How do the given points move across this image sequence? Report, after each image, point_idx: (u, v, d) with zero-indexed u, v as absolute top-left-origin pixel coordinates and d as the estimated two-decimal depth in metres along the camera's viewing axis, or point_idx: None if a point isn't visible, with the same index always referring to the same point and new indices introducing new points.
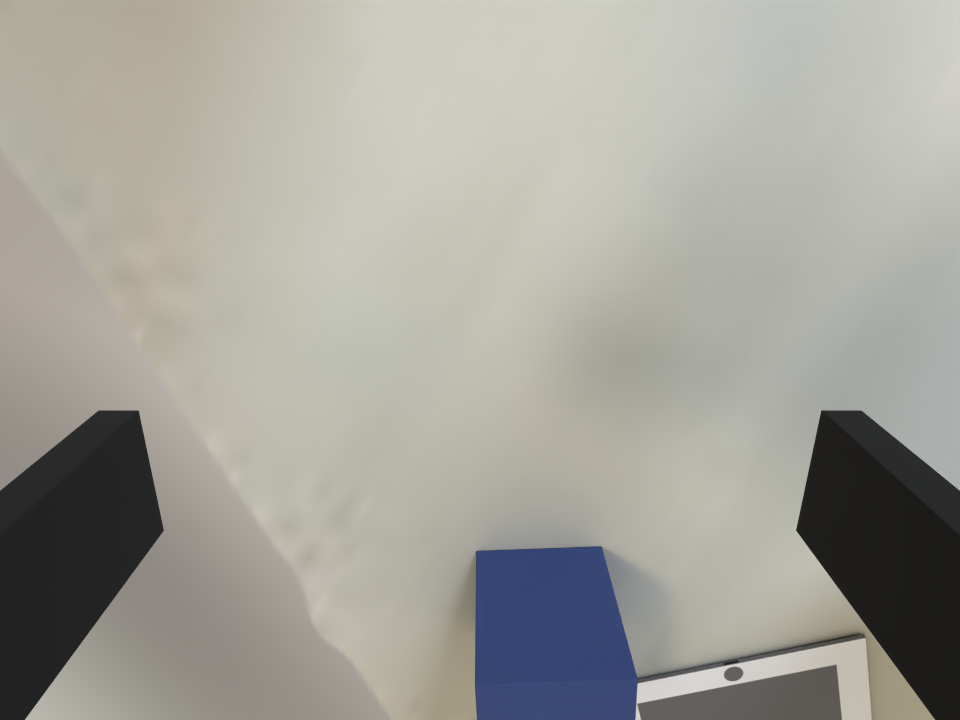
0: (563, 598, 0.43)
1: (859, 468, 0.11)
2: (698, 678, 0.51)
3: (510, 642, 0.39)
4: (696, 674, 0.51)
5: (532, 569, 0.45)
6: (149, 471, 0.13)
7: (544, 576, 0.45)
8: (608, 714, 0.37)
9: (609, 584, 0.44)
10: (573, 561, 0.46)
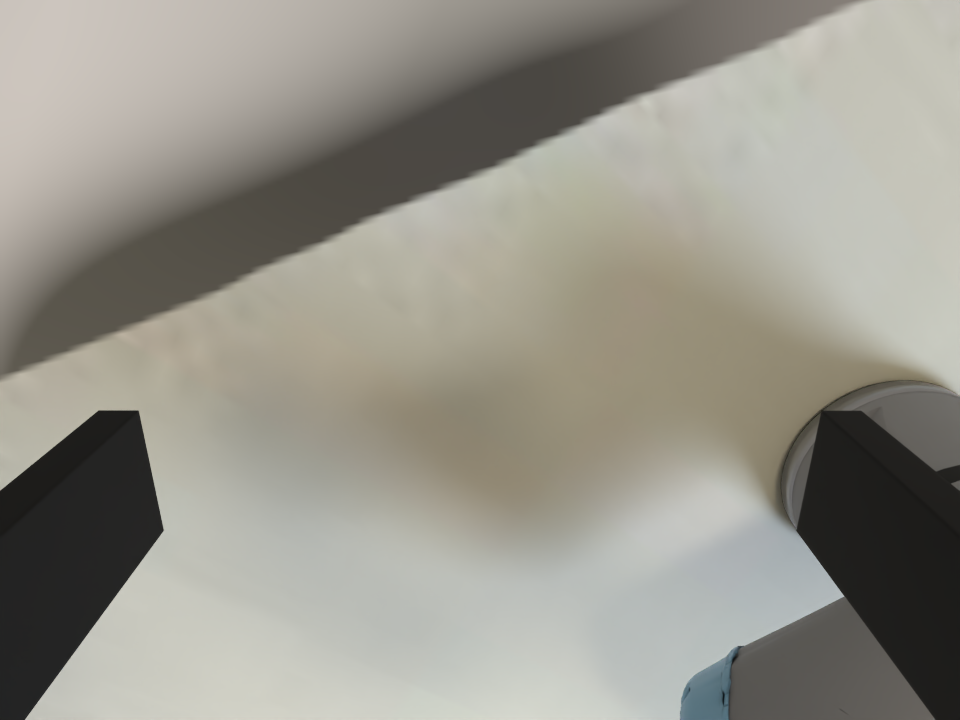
0: None
1: (859, 469, 0.11)
2: None
3: None
4: None
5: None
6: (148, 472, 0.13)
7: None
8: None
9: None
10: None
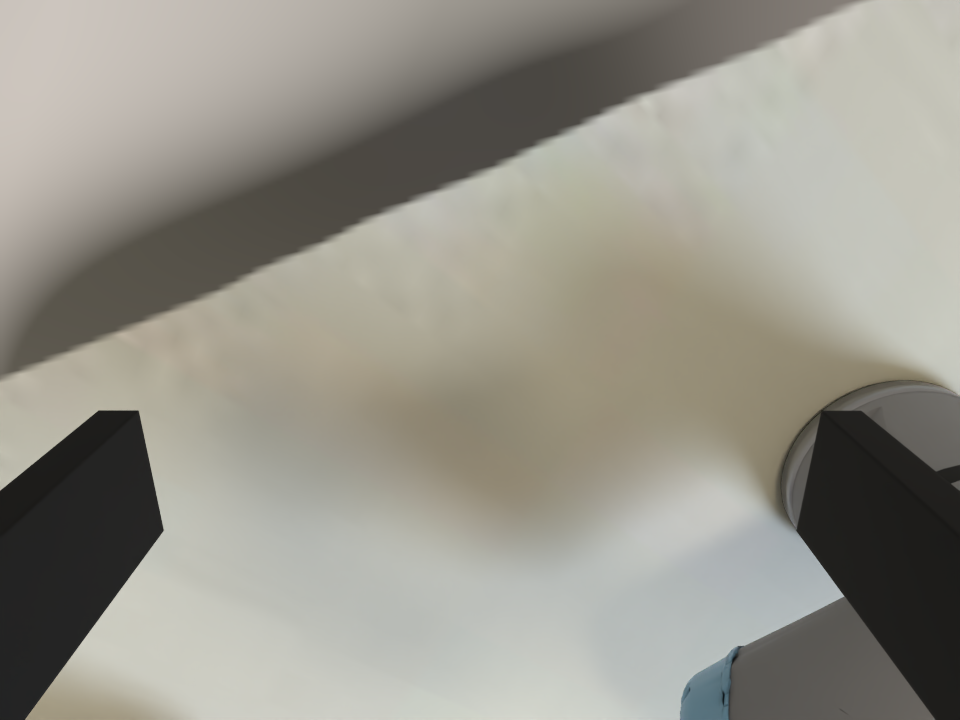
0: None
1: (859, 469, 0.11)
2: None
3: None
4: None
5: None
6: (148, 472, 0.13)
7: None
8: None
9: None
10: None
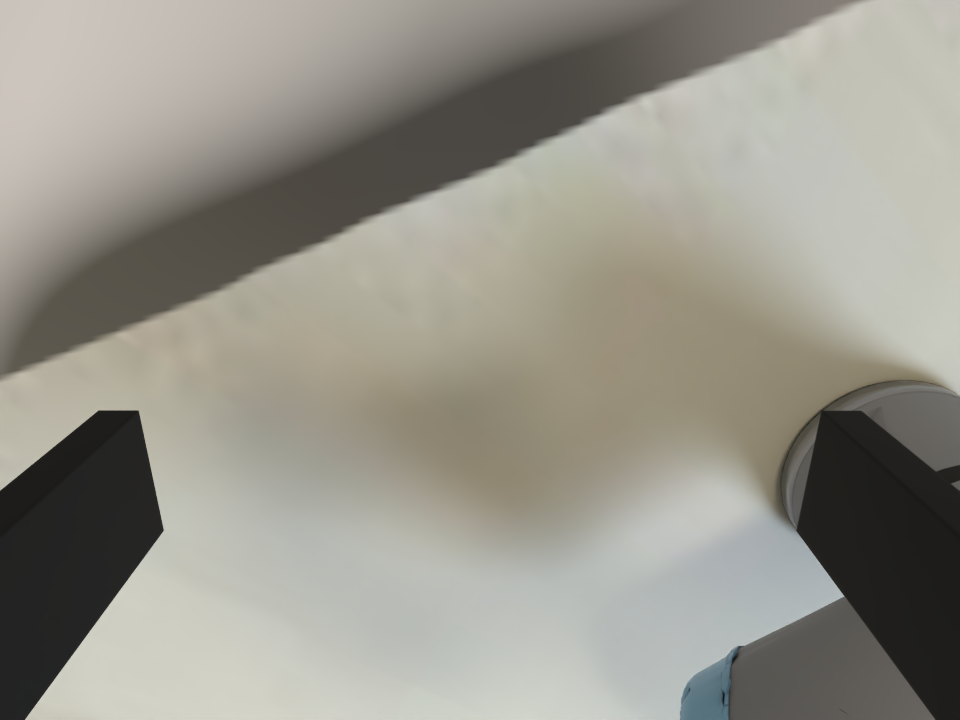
0: None
1: (859, 469, 0.11)
2: None
3: None
4: None
5: None
6: (148, 472, 0.13)
7: None
8: None
9: None
10: None
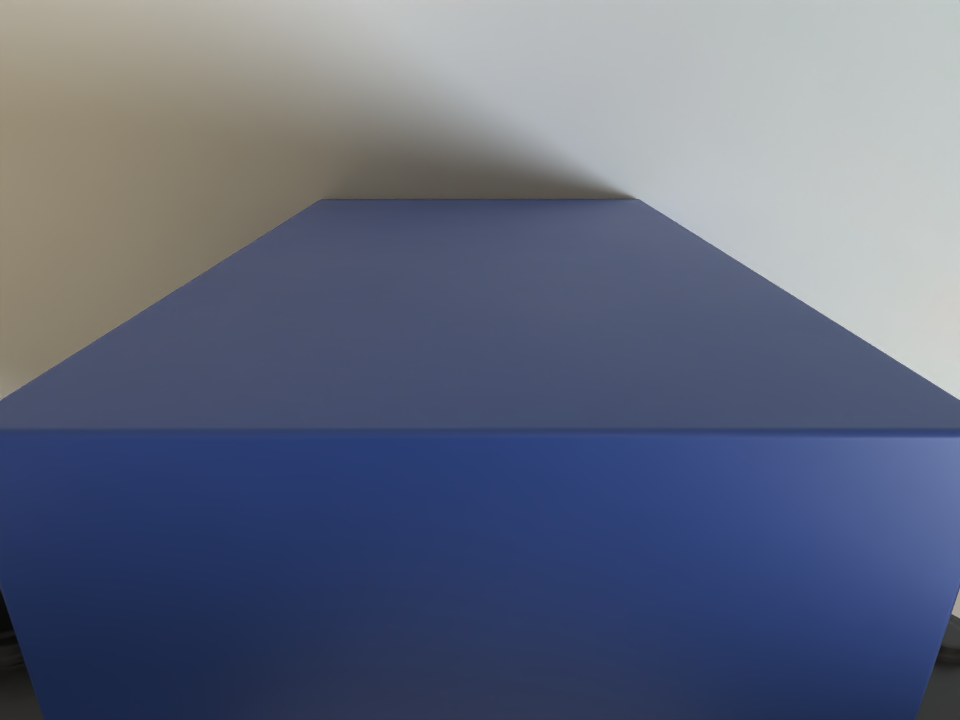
0: None
1: None
2: None
3: None
4: None
5: None
6: None
7: None
8: None
9: None
10: None
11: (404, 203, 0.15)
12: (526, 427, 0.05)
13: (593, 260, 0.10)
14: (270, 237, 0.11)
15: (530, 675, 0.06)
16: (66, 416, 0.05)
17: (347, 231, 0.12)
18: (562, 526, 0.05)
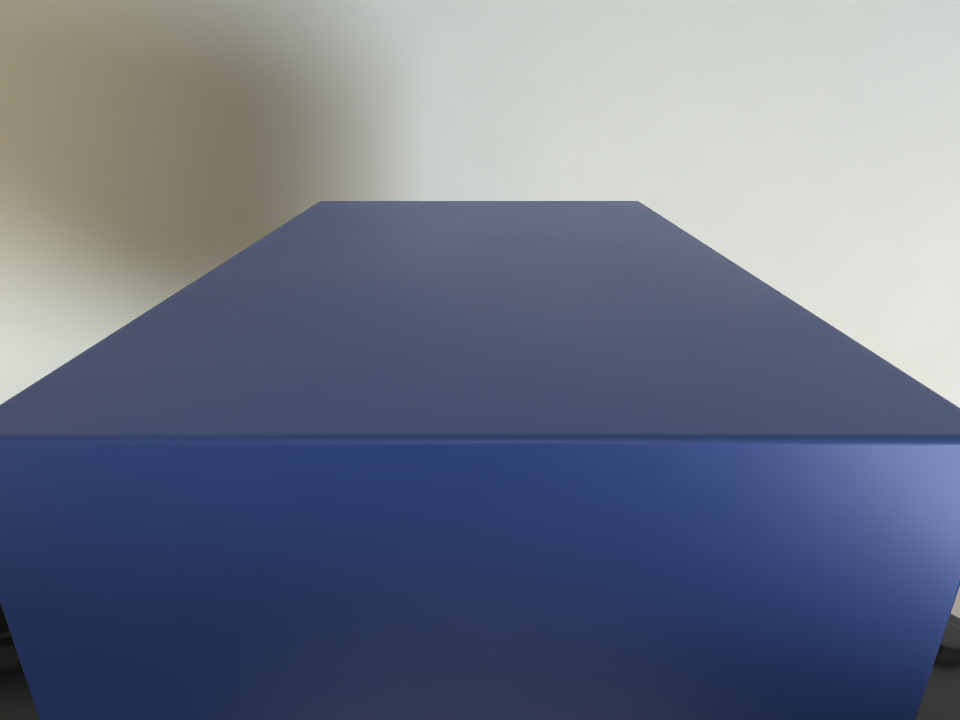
0: None
1: None
2: None
3: None
4: None
5: None
6: None
7: None
8: None
9: None
10: None
11: (403, 205, 0.15)
12: (523, 435, 0.05)
13: (591, 263, 0.10)
14: (269, 240, 0.11)
15: (528, 681, 0.06)
16: (63, 423, 0.05)
17: (346, 234, 0.12)
18: (559, 531, 0.05)
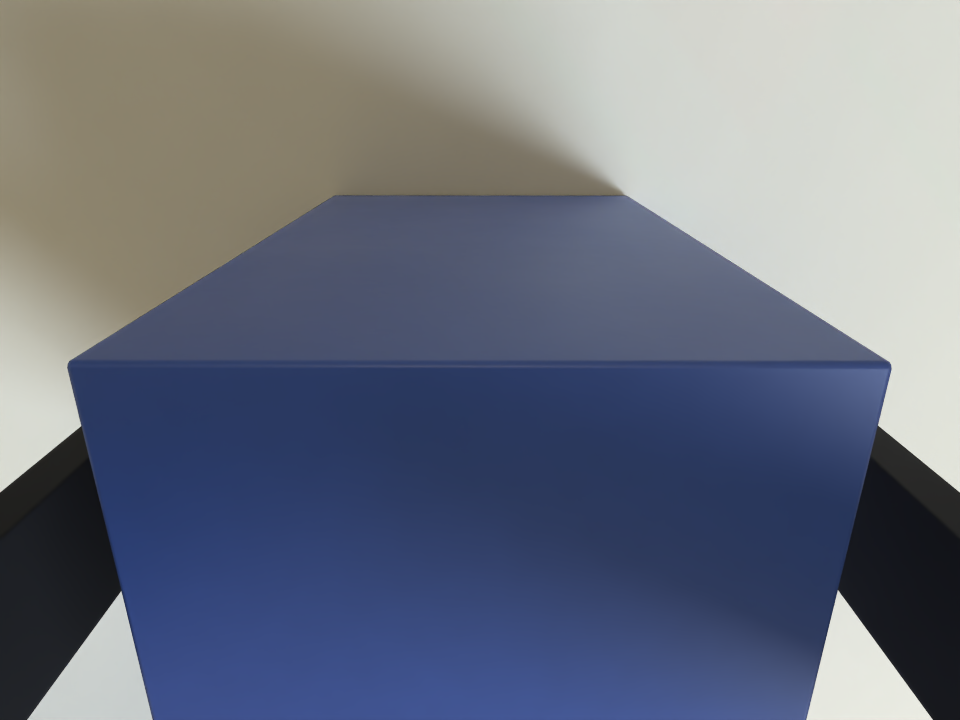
0: None
1: None
2: None
3: None
4: None
5: None
6: None
7: None
8: None
9: None
10: None
11: (411, 198, 0.16)
12: (514, 361, 0.06)
13: (579, 245, 0.11)
14: (293, 226, 0.13)
15: (519, 568, 0.07)
16: (154, 352, 0.06)
17: (361, 222, 0.13)
18: (543, 440, 0.06)
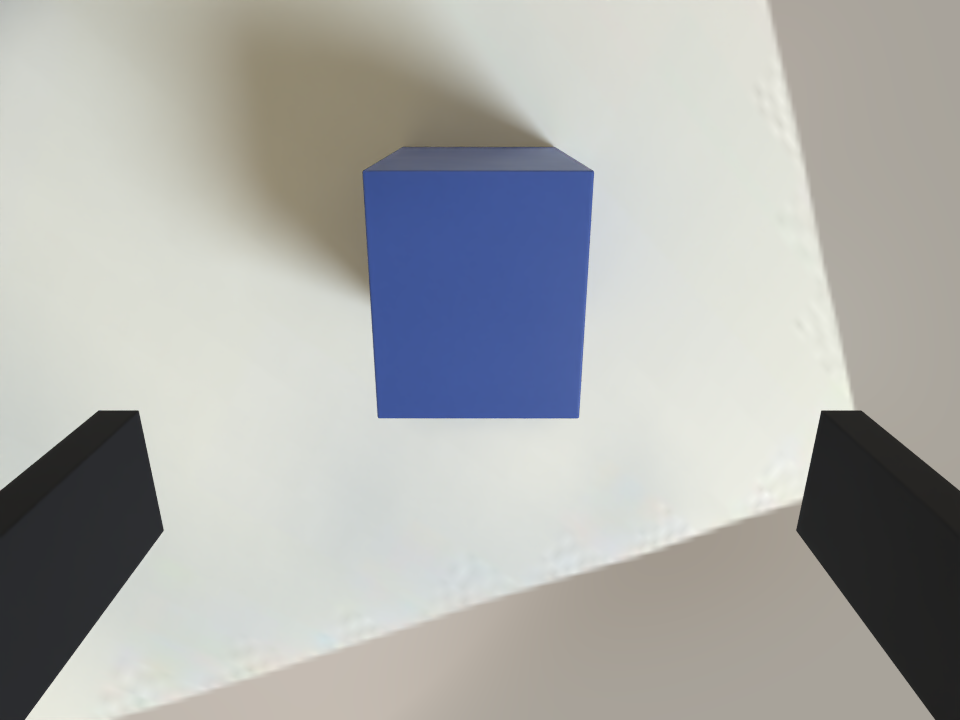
0: None
1: (860, 468, 0.11)
2: None
3: None
4: None
5: None
6: (148, 471, 0.13)
7: None
8: (511, 380, 0.24)
9: None
10: None
11: (443, 147, 0.32)
12: (488, 170, 0.22)
13: (519, 157, 0.27)
14: (395, 154, 0.28)
15: (490, 240, 0.22)
16: (385, 169, 0.22)
17: (424, 153, 0.29)
18: (496, 195, 0.22)
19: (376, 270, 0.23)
